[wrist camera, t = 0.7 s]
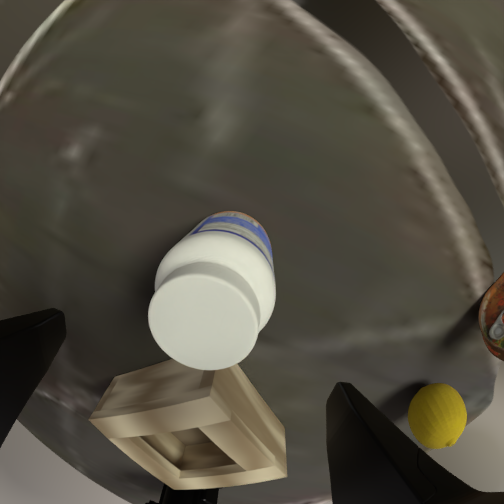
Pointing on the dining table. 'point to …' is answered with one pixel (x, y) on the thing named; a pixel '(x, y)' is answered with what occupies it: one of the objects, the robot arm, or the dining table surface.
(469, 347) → the dining table surface
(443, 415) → the lemon
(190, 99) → the dining table surface
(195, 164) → the dining table surface
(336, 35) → the dining table surface
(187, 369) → the box
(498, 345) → the tin
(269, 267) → the pill bottle
